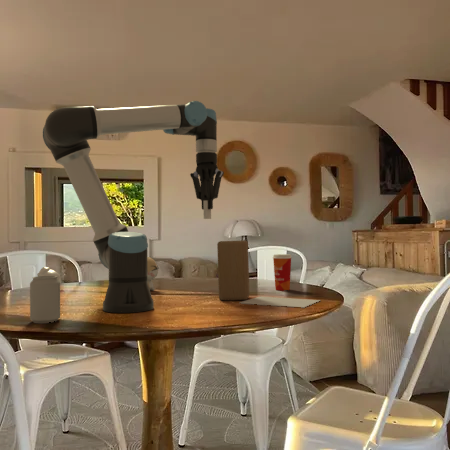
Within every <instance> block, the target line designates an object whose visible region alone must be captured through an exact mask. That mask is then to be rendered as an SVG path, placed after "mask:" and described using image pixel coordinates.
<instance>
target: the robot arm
mask: <svg viewBox="0 0 450 450" xmlns="http://www.w3.org/2000/svg"><path fill="white" fill-rule="evenodd" d="M43 125H44V126H43V128H42V139H43V142H44V145H45V147H47V148H48V150H50V153H51V155H52V156H53V159H54V160H55V163H56V164H59V165H62V166H63V168H64V171H65V173H66V174H67V177H68V179H69V181H70V183H71V185H72V187H73V190H74V192H75V194H76V196H77V198H78V200H79V202H80V204H81V206H82V208H83V210H84V214H85V215H86V217H87V219H88V221H89V224H90V226H91V228H92V230H93V232H94V235H93V238H92V241H93V243H94V246H95V248H96V251H97V252H98V257H99V259H98V260H99V261H100V262H101V264H102V265H103V266H104V267H105V268H107V269H108V285H107V289H106V291H105V295H104V300H103V301H102V302H103V303H102V311H103V312H105V313H106V312H107V313H114V314H115V313H117V314H126V313H129V314H130V313H140V312H142V313H143V312H149V311H151V310H153V309H154V304H155V303H154V299H153V296H152V293H151V290H150V289H149V286H148V277H147V276H148V267H147V257H148V247H149V244H148V237H147V235H146V234H144V233H142V232H136V231H129V230H128V227H127V225H125V224H123V223H120V221H119V219H118V217H117V214H116V213H115V210H114V208H113V205H112V203H111V201H110V198H109V197H108V195H107V193H106V190H105V188H104V186H103V184H102V182H101V180H100V177H99V175H98V172H97V171H96V168H95V166H94V164H93V162H92V160H91V158H90V152H91V150H92V149H91V146H90V144H89V142H88V140H95V139H96V140H97V139H98V138H99V137H100V136H102V135H103V136H104V135H114V134H125V133H126V134H127V133H128V134H129V133H136V132H137V133H140V132H149V131H151V132H153V131H163V132H164V133H165V134H167V135H176V136H177V135H178V136H193V137H195V152H196V154H195V160H196V161H195V163H196V168H195V171H193V173H192V172H191V173H190V174H189V175H190V177H191V179H192V183H193V187H194V192H195V196H196V199H197V200H200V201H201V209H202V211H203V219H204V220H211V219H212V210H213V209H214V205H213V204H214V203H213V202H214V200H216V199H217V198H218V197H219V193H220V187H221V181H222V178H223V176H224V174H225V173H224V171H223V170H221V169H218V168H219V167H218V165H217V164H218V154H217V152H218V143H217V141H218V140H217V135H218V134H217V132H218V131H217V125H218V121H217V113H216V110H214V109H213V108H207V107H206V106H205V105H204V103H203V102H201V101H199V100H192V101H189V102H187V103H186V104H185V103H184V104H183V103H181V104H166V105H150V106H148V105H147V106H133V107H130V106H128V107H114V108H112V107H111V108H98V109H97V108H96V107H95V106H94V105H87V106H83V105H82V106H65V107H59V108H56V109H54V110H52V111H51V112H50V113H49V114H48V116H47V117H46V119H45V124H43Z"/></svg>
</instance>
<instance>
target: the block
mask: <svg viewBox="0 0 450 450" xmlns="http://www.w3.org/2000/svg"><path fill="white" fill-rule="evenodd" d="M216 245H217V274H218V275H217V277H218V298H219V300H220V301H246V300H249V297H250V294H251V293H250V268H249V267H250V265H249V261H250V260H249V242H248V241H247V240H243V239H242V240H219V241H218V242H217V244H216Z"/></svg>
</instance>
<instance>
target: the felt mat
mask: <svg viewBox="0 0 450 450" xmlns="http://www.w3.org/2000/svg"><path fill="white" fill-rule="evenodd" d="M319 301H320V302H321V299H306V298H305V299H304V298H290V297H276V296H275V297H274V296H273V297H272V296H263V295H262V296H261V295H260V296H258V297H254V298H253V297H252V298H250V299H247V300H242V301H239V304H240V303H241V304H242V305H254V304H257V306H267V305H271V306H270V307H281V306H287V307H286V308H294V307H301V308H300V309H305V307H306V308H308V307H310V306H312V304H313V305H315V304H317V303H319ZM316 302H317V303H316ZM314 303H315V304H314ZM241 304H240V305H241ZM309 305H310V306H309ZM307 306H308V307H307Z"/></svg>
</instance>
